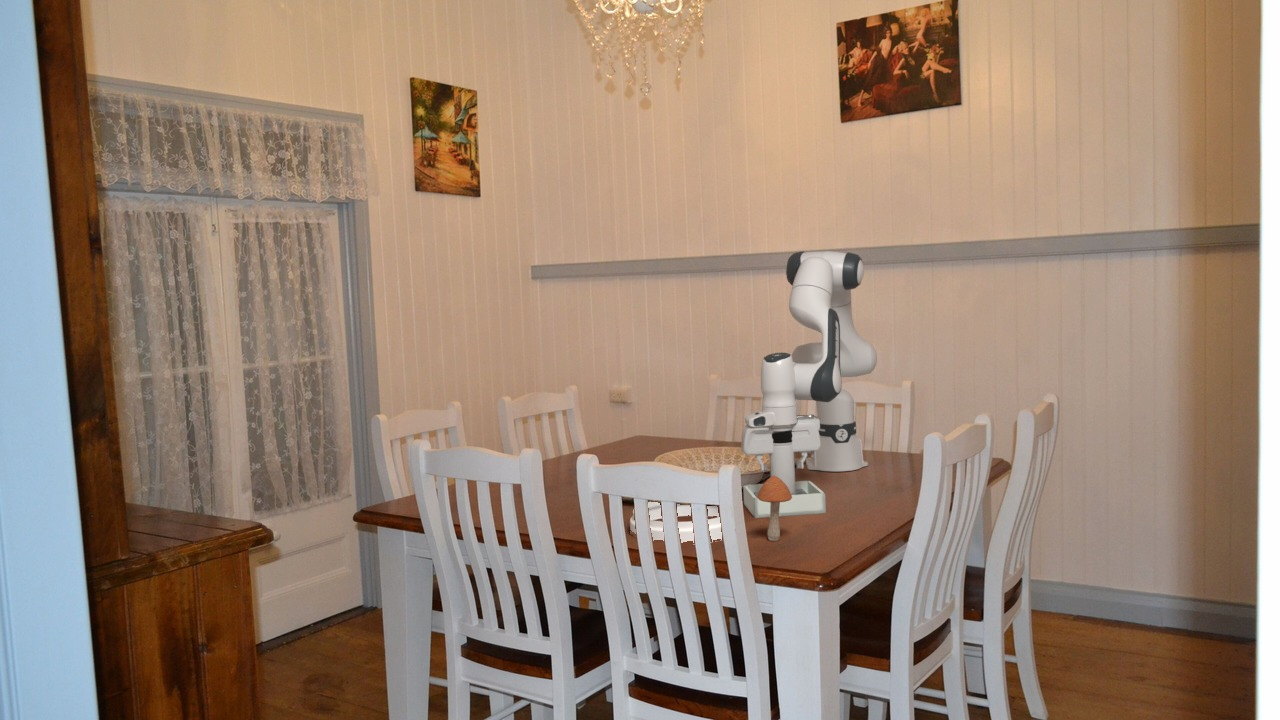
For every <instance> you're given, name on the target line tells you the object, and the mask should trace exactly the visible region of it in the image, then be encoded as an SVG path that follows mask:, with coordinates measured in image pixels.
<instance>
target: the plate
mask: <svg viewBox="0 0 1280 720" xmlns="http://www.w3.org/2000/svg"><path fill="white" fill-rule="evenodd" d="M648 508H649V515H650V528H651V533H652V537H653V541H654V540H663V541H664V532H663V522H664V521H663V522H662V521H661V520H660V519H663V518H662V516H661V505H660V503H658V502H651V501H648ZM707 509H708V516H707V517H713V516H717V517H714V518H708V519H707V520H708V524H709V531H710V536H711V539H712V542H711V543H714V542H713V540H717V539H721V540H720V541H723V540H722V532H721V523H720V517H719V513H718V507H717V506H707ZM677 513H678V516H677V517H692V516H691V507H690V505H680V504H677ZM688 515H689V516H688ZM692 521H693V520H691V521H677V522H678V528H679V534H680V539H681V543H683V542H687V541H693V543H694V533H693V523H692ZM629 527H630V530H631V531H632V532H634V533H635V534H636V529H635V520H634V509H633V510H632V516H631V517H630V519H629ZM631 531H630V532H631Z"/></svg>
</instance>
